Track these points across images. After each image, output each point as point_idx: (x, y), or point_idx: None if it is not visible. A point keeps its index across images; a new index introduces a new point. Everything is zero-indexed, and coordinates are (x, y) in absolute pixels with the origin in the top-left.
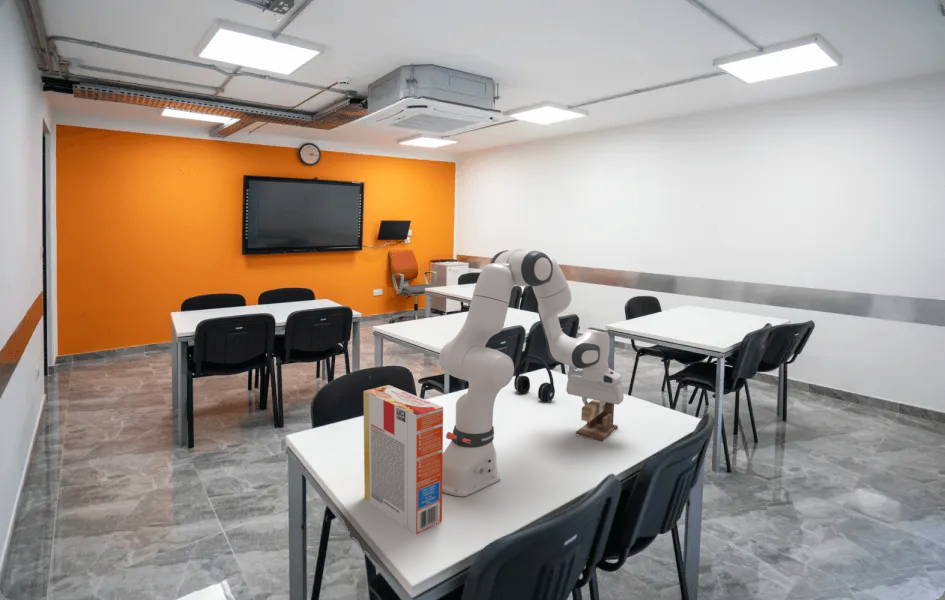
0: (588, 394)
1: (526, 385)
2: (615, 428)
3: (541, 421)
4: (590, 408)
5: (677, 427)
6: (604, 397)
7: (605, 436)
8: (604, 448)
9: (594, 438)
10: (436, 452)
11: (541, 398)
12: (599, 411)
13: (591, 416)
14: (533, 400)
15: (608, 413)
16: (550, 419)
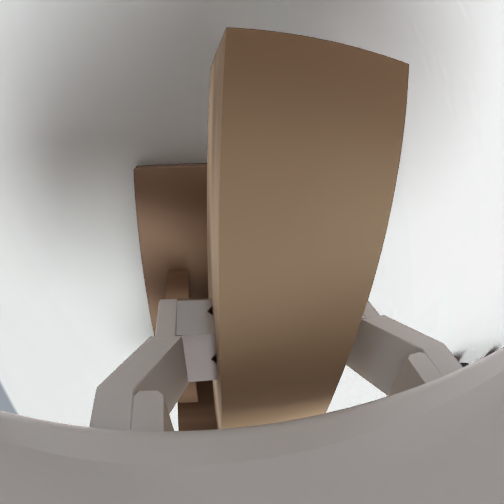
0: (437, 449)
1: None
2: None
3: (467, 223)
4: (242, 98)
5: None
6: (27, 499)
7: (137, 215)
8: (90, 77)
9: (191, 164)
10: None
11: (463, 364)
12: (169, 304)
13: (210, 127)
14: (471, 351)
15: (197, 400)
16: (442, 264)
